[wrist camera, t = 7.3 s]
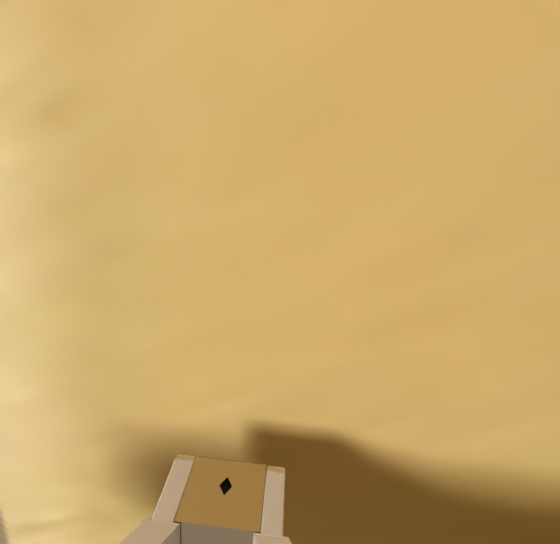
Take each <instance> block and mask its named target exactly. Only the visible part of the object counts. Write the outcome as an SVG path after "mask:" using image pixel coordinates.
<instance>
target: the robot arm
mask: <svg viewBox="0 0 560 544" xmlns="http://www.w3.org/2000/svg"><path fill="white" fill-rule="evenodd" d="M285 476H286V471H285V467H278V466H268V465H267V466H266V464H256V463H247V462H238V461H225V460H218V459H211V458H204V457H197V456H190V455H182V454H178V455H177V457H176V458H175V460H174V462H173V465H172V467H171V470H170V472H169V475H168V477H167V480H166V483H165V485H164V488H163V490H162V493H161V495H160V498H159V501H158V503H157V506H156V508H155V511H154V513H153V516H152V519H145V520H144V521H143V522H142V523H141V524H139V525H138V526H137V527H136V528H135V529H134V530H133V531H132V532H131V533H130V534H129V535H128V536H127V537H126V538H125V539H124V540H123V541H122V542H121V543H120V544H292V542H291V540H290V538H289V537H285V536H283V530H284V503H285Z"/></svg>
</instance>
